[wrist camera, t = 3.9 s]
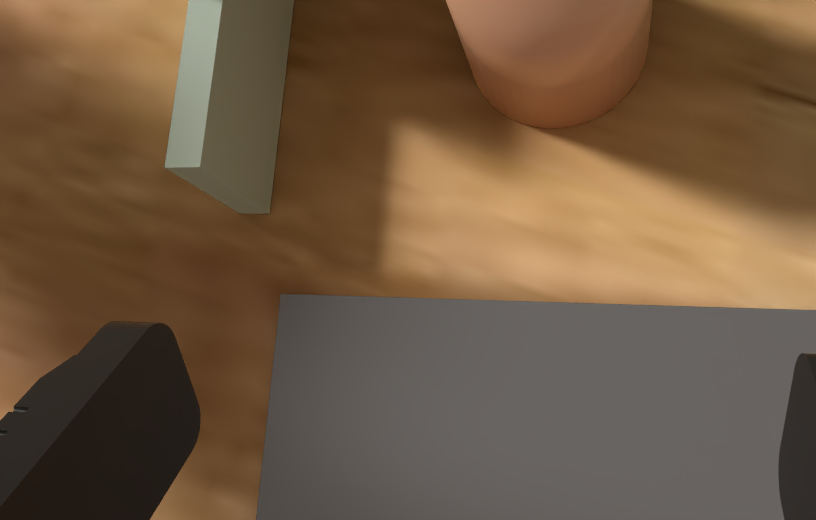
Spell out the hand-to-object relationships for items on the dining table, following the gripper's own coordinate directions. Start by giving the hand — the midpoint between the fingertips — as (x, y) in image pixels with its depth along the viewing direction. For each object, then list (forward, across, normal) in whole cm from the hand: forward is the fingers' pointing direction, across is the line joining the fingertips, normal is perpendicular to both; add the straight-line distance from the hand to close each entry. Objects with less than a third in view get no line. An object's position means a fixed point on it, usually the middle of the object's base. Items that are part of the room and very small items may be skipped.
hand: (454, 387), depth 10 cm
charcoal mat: (+9, 0, +12) cm, 15 cm away
